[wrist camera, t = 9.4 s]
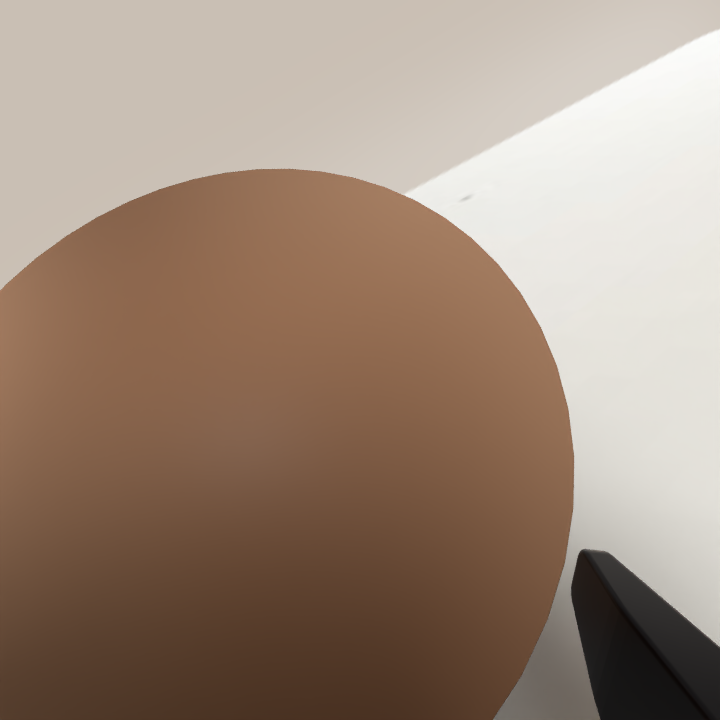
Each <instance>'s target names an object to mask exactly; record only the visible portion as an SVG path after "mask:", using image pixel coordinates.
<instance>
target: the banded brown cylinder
mask: <svg viewBox="0 0 720 720" xmlns="http://www.w3.org/2000/svg"><path fill="white" fill-rule="evenodd" d="M573 490H574V452H573V444H572V436H571V428H570V419H569V411H568V406H567V403H566V399H565V395H564V391H563V387H562V384H561V380H560V376H559V372H558V369H557V365H556V363H555V360H554V358H553V356H552V353H551V351H550V348H549V346H548V344H547V341H546V339H545V336H544V334H543V332H542V329H541V327H540V325H539V324H538V322H537V320H536V318H535V317H534V315H533V313H532V312H531V310H530V308H529V307H528V305H527V303H526V301H525V300H524V298H523V296H522V295H521V293H520V292H519V290H518V289H517V288H516V287H515V285H514V284H513V283H512V281H511V280H510V279H509V278H508V276H507V275H506V274H505V273H504V271H503V270H502V269H501V267H500V266H499V265H498V264H497V263H496V262H495V261H494V260H493V259H492V258H491V257H490V256H489V255H488V254H487V253H486V252H485V251H484V250H483V249H482V248H481V247H480V246H479V245H478V244H477V243H476V242H475V241H474V240H473V239H472V238H471V237H469V236H468V235H467V234H465V233H464V232H463V231H461V230H460V229H459V228H457V227H456V226H455V225H454V224H452V223H451V222H450V221H448V220H447V219H446V218H444V217H443V216H441V215H439V214H438V213H436V212H434V211H432V210H431V209H429V208H427V207H425V206H424V205H422V204H420V203H419V202H417V201H415V200H413V199H411V198H408V197H406V196H404V195H401V194H399V193H397V192H394V191H392V190H390V189H388V188H385V187H382V186H379V185H376V184H372V183H369V182H366V181H363V180H359V179H356V178H352V177H347V176H342V175H336V174H331V173H326V172H320V171H308V170H296V169H256V170H247V171H238V172H230V173H222V174H218V175H212V176H208V177H202V178H198V179H193V180H189V181H186V182H183V183H179V184H176V185H173V186H169V187H166V188H163V189H159V190H157V191H154V192H152V193H149V194H147V195H144V196H142V197H139V198H137V199H134V200H132V201H129V202H127V203H125V204H123V205H121V206H119V207H117V208H115V209H113V210H111V211H109V212H107V213H105V214H103V215H101V216H99V217H97V218H95V219H94V220H92V221H91V222H89V223H87V224H85V225H84V226H82V227H81V228H79V229H77V230H76V231H74V232H72V233H71V234H69V235H67V236H66V237H65V238H63V239H62V240H61V241H59V242H58V243H56V244H55V245H54V246H52V247H51V248H49V249H48V250H47V251H45V252H44V253H43V254H41V255H40V256H38V257H37V258H36V259H35V260H34V261H32V262H31V263H30V264H29V265H28V266H27V267H26V268H24V269H23V270H22V271H21V272H20V273H19V274H18V275H16V276H15V277H14V278H13V279H12V280H11V281H10V282H8V283H7V284H6V285H5V286H4V287H3V289H1V290H0V720H493V718H494V717H495V715H496V714H497V712H498V711H499V709H500V708H501V706H502V705H503V703H504V702H505V700H506V699H507V697H508V695H509V694H510V692H511V691H512V689H513V688H514V686H515V685H516V683H517V682H518V680H519V679H520V677H521V675H522V673H523V671H524V669H525V667H526V665H527V662H528V660H529V658H530V656H531V654H532V652H533V649H534V647H535V645H536V643H537V641H538V639H539V637H540V634H541V632H542V630H543V628H544V626H545V624H546V621H547V619H548V616H549V613H550V610H551V606H552V603H553V600H554V596H555V593H556V590H557V586H558V583H559V580H560V577H561V573H562V570H563V567H564V563H565V557H566V551H567V545H568V538H569V532H570V525H571V519H572V513H573Z"/></svg>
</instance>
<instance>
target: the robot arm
mask: <svg viewBox="0 0 720 720" xmlns="http://www.w3.org/2000/svg"><path fill="white" fill-rule="evenodd" d="M571 596H572V603H573V607H574V611H575V616H576V620H577V625H578V629H579V634H580V638H581V643H582V647H583V652H584V656H585V661H586V665H587V670H588V674H589V679H590V683H591V687H592V691H593V695H594V699H595V703H596V706H597V709H598V713H599V716H600V719H601V720H720V647H719V646H718V645H717V644H716V643H714V642H713V641H712V640H711V639H710V638H709V637H707V636H706V635H705V634H704V633H703V632H701V631H700V630H699V629H698V628H697V627H696V626H694V625H693V624H692V623H691V622H690V621H689V620H687V619H686V618H685V617H684V616H683V615H682V614H680V613H679V612H678V611H677V610H676V609H674V608H673V607H672V606H671V605H670V604H669V603H667V602H666V601H665V600H664V599H663V598H662V597H660V596H659V595H658V594H657V593H656V592H655V591H653V590H652V589H651V588H650V587H649V586H647V585H646V584H645V583H644V582H643V581H642V580H640V579H639V578H638V577H637V576H636V575H635V574H633V573H632V572H631V571H630V570H629V569H627V568H626V567H625V566H624V565H623V564H622V563H620V562H619V561H618V560H617V559H616V558H615V557H613V556H612V555H611V554H609V553H608V552H605V551H599V550H590V549H583V550H581V551H580V553H579V555H578V558H577V563H576V567H575V572H574V576H573V581H572V585H571Z"/></svg>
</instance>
